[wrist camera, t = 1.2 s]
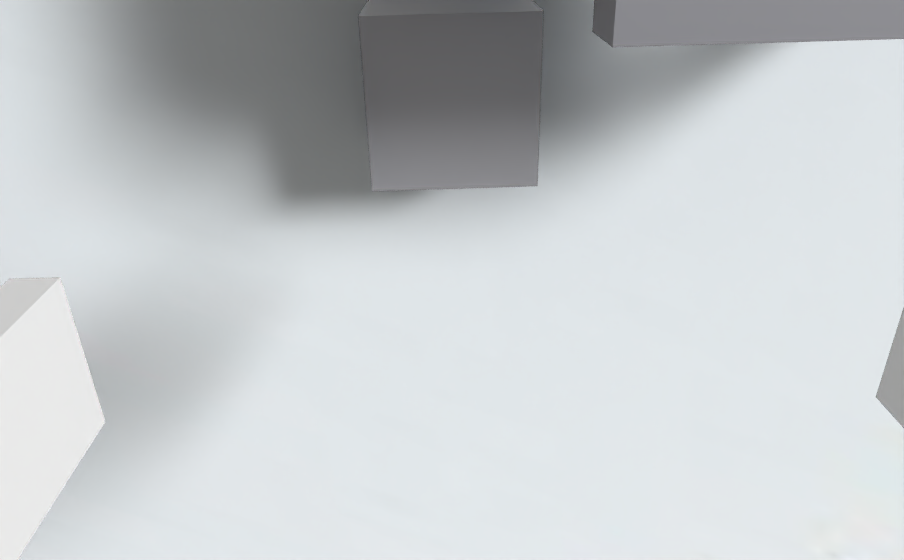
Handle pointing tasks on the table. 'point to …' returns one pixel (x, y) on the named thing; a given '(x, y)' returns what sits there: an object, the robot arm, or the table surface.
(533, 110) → the gray cube
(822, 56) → the table surface
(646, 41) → the plate
